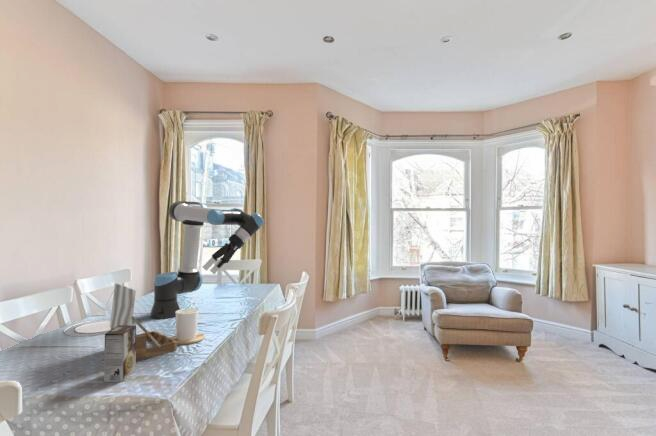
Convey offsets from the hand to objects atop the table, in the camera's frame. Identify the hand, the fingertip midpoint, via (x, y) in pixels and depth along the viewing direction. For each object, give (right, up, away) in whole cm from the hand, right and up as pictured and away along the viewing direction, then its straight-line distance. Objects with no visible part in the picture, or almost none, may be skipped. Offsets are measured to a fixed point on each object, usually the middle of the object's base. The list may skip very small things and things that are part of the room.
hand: (207, 270), depth 165 cm
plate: (-56, -30, +7) cm, 64 cm away
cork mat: (-6, -30, -9) cm, 32 cm away
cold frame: (-19, -29, -22) cm, 41 cm away
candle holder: (-7, -29, -9) cm, 31 cm away
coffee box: (-14, -29, -47) cm, 57 cm away
